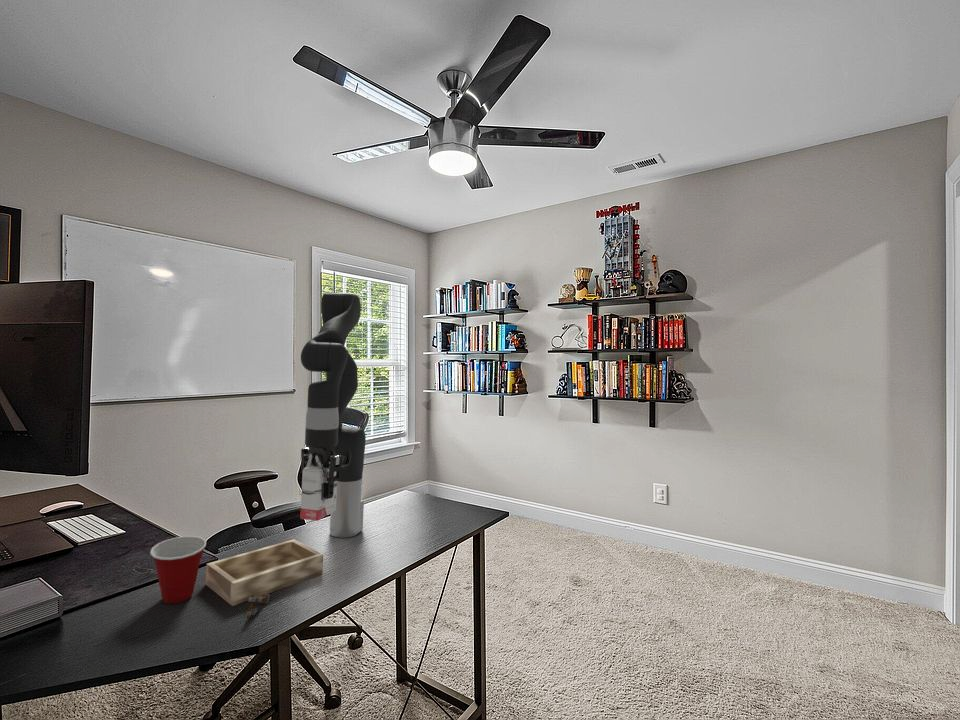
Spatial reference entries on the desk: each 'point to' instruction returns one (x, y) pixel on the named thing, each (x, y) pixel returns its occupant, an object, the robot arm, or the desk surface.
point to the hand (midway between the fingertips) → (319, 494)
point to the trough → (263, 571)
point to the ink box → (315, 495)
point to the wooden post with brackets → (252, 600)
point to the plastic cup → (178, 566)
